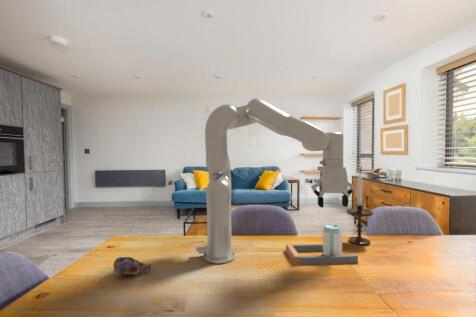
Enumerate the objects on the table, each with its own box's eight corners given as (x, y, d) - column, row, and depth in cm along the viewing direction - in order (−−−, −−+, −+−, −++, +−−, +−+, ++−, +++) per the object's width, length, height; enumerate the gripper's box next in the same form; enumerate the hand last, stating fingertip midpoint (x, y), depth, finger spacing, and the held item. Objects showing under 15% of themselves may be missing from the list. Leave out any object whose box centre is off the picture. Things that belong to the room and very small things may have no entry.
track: (294, 264, 92) (294, 256, 92) (286, 250, 105) (286, 243, 105) (357, 262, 93) (358, 254, 93) (341, 249, 106) (341, 242, 106)
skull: (153, 268, 89) (153, 251, 89) (147, 279, 82) (146, 261, 82) (118, 270, 89) (118, 253, 88) (109, 281, 81) (109, 262, 81)
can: (324, 251, 104) (324, 222, 104) (342, 254, 101) (342, 225, 100) (321, 257, 98) (321, 227, 97) (341, 261, 94) (341, 230, 94)
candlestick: (367, 238, 119) (368, 165, 118) (376, 247, 108) (377, 167, 107) (343, 237, 120) (344, 165, 119) (349, 245, 110) (350, 166, 109)
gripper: (314, 164, 94) (315, 209, 94) (359, 163, 95) (359, 208, 95) (308, 163, 101) (308, 205, 102) (349, 162, 102) (349, 204, 103)
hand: (332, 206), depth 99 cm, fingers open, 9 cm apart
